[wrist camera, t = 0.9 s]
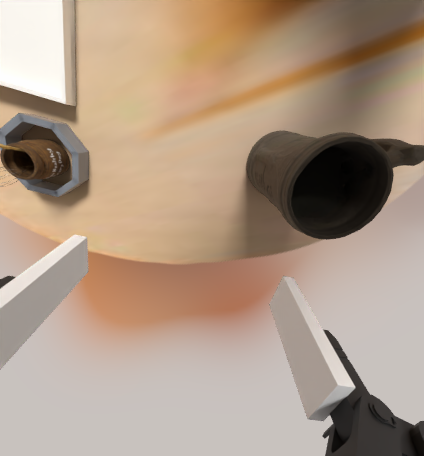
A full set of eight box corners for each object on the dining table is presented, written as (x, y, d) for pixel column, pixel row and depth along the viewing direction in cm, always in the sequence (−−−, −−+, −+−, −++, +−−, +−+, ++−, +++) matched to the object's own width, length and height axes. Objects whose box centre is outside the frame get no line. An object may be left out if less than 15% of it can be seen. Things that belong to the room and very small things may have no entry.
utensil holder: (35, 167, 36) (-41, 182, 25) (35, 131, 33) (-50, 130, 23) (69, 179, 37) (10, 198, 26) (72, 145, 34) (7, 150, 23)
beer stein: (259, 206, 39) (312, 263, 21) (231, 157, 35) (266, 174, 17) (333, 161, 36) (470, 181, 18) (313, 102, 32) (460, 52, 14)
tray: (-49, -82, 24) (-77, -105, 21) (74, -36, 25) (60, -53, 23) (-20, 77, 30) (-39, 73, 28) (76, 106, 32) (65, 104, 30)
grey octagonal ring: (11, 107, 32) (-8, 105, 29) (89, 130, 33) (78, 129, 31) (21, 180, 37) (6, 184, 34) (88, 197, 38) (78, 202, 36)
